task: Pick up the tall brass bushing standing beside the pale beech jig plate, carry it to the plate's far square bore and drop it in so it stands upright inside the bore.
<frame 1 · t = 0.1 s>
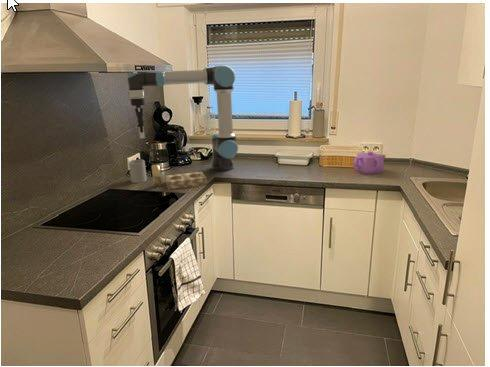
hand: (142, 136, 199), 28 cm above the worktop, fingers open, 13 cm apart
teakettle: (368, 171, 216), on the worktop
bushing: (157, 185, 201), on the worktop
jig: (186, 183, 204), on the worktop
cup: (139, 180, 212), on the worktop
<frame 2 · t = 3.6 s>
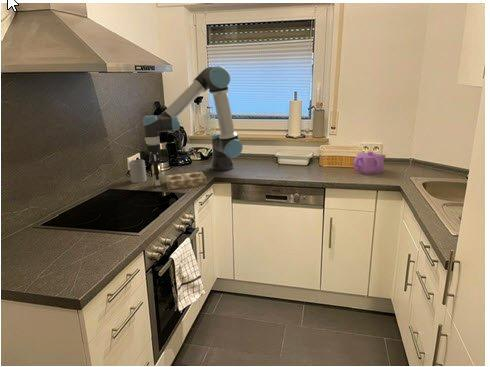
hand: (157, 183, 201), 1 cm above the worktop, fingers closed on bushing, 4 cm apart
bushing: (157, 185, 201), on the worktop, touching gripper
everything else where it was.
when the fingers open (6 cm above the worktop, at t = 9.0 s): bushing drops 2 cm, resting in jig.
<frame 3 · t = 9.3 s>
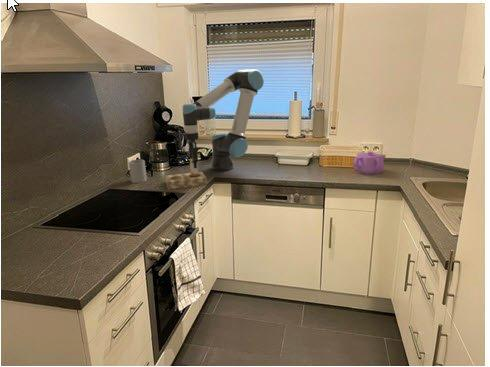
hand: (194, 171, 203), 7 cm above the worktop, fingers open, 8 cm apart
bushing: (195, 182, 205), resting in jig
everything else where it was.
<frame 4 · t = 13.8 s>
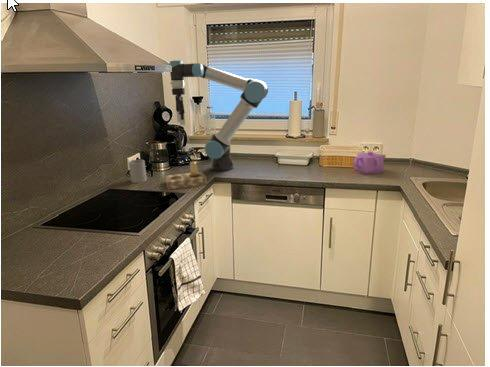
hand: (181, 123, 215), 32 cm above the worktop, fingers open, 13 cm apart
nothing on the worktop moved.
at the end: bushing 0.0 cm from the target spot on the jig, point 0.0 cm above the jig's base; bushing tilted 0°; the gripper is holding nothing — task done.
